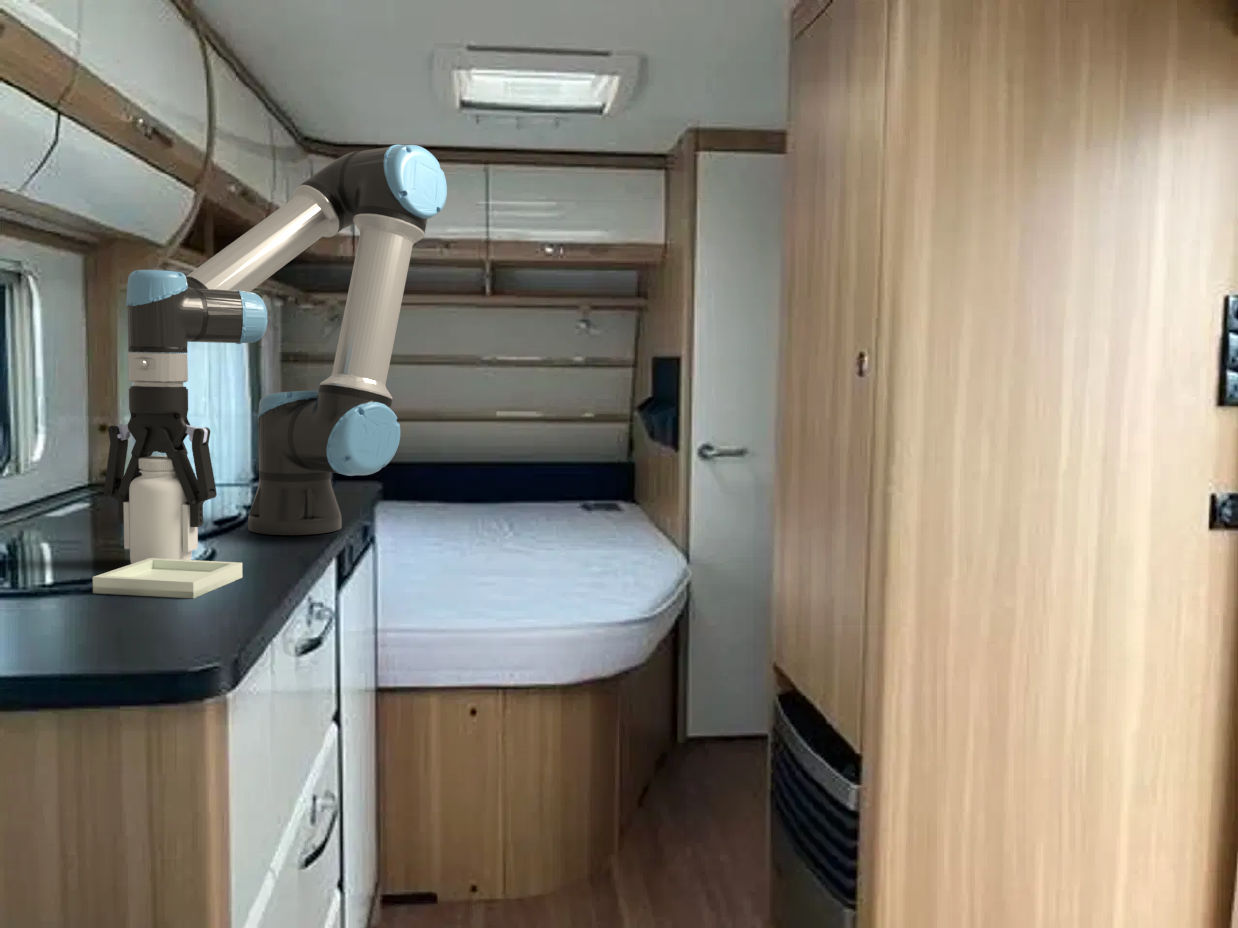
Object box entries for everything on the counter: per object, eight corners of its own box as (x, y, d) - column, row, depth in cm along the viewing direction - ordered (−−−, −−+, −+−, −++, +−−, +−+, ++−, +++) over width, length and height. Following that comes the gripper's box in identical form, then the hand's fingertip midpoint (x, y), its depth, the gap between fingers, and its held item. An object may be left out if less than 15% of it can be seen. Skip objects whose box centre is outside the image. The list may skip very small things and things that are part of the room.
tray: (150, 572, 148) (149, 557, 148) (242, 577, 147) (242, 562, 147) (93, 592, 136) (92, 576, 135) (193, 598, 134) (193, 582, 134)
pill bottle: (141, 572, 148) (139, 461, 147) (122, 562, 154) (120, 456, 153) (200, 565, 154) (199, 458, 152) (179, 557, 160) (178, 453, 158)
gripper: (71, 383, 149) (75, 549, 151) (217, 387, 147) (219, 556, 149) (103, 381, 157) (107, 540, 159) (243, 386, 154) (244, 547, 156)
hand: (161, 548), depth 154 cm, fingers closed on pill bottle, 8 cm apart
